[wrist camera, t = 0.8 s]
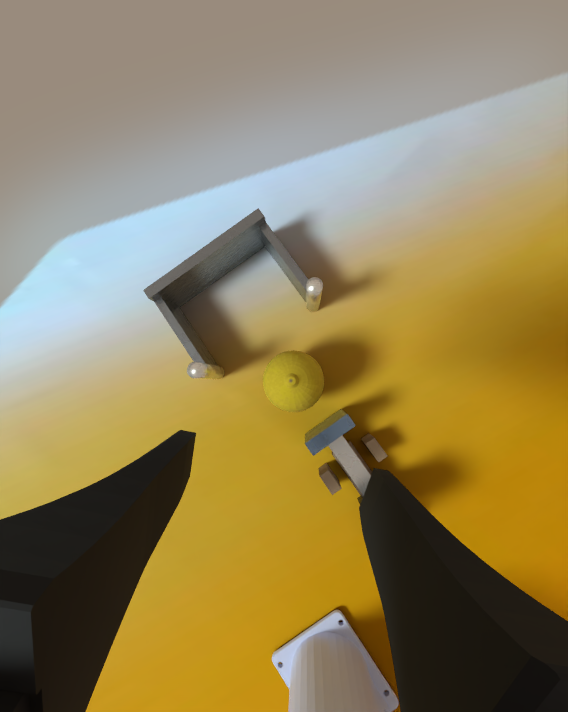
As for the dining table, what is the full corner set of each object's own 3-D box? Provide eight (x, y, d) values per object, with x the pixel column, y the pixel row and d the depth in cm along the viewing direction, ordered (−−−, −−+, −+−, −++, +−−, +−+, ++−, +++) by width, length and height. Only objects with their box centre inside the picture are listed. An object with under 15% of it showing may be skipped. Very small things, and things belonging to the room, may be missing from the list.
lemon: (298, 344, 31) (295, 331, 23) (332, 384, 30) (342, 385, 22) (258, 378, 31) (241, 376, 23) (292, 419, 30) (287, 432, 22)
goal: (322, 306, 31) (326, 286, 25) (216, 381, 31) (192, 381, 25) (267, 233, 32) (258, 196, 26) (165, 305, 32) (131, 286, 26)
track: (421, 506, 29) (432, 518, 26) (369, 542, 29) (375, 558, 26) (365, 428, 30) (371, 433, 27) (315, 464, 30) (316, 471, 27)
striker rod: (405, 500, 28) (435, 535, 22) (368, 526, 28) (387, 569, 22) (340, 408, 30) (350, 416, 23) (305, 433, 30) (304, 448, 23)
